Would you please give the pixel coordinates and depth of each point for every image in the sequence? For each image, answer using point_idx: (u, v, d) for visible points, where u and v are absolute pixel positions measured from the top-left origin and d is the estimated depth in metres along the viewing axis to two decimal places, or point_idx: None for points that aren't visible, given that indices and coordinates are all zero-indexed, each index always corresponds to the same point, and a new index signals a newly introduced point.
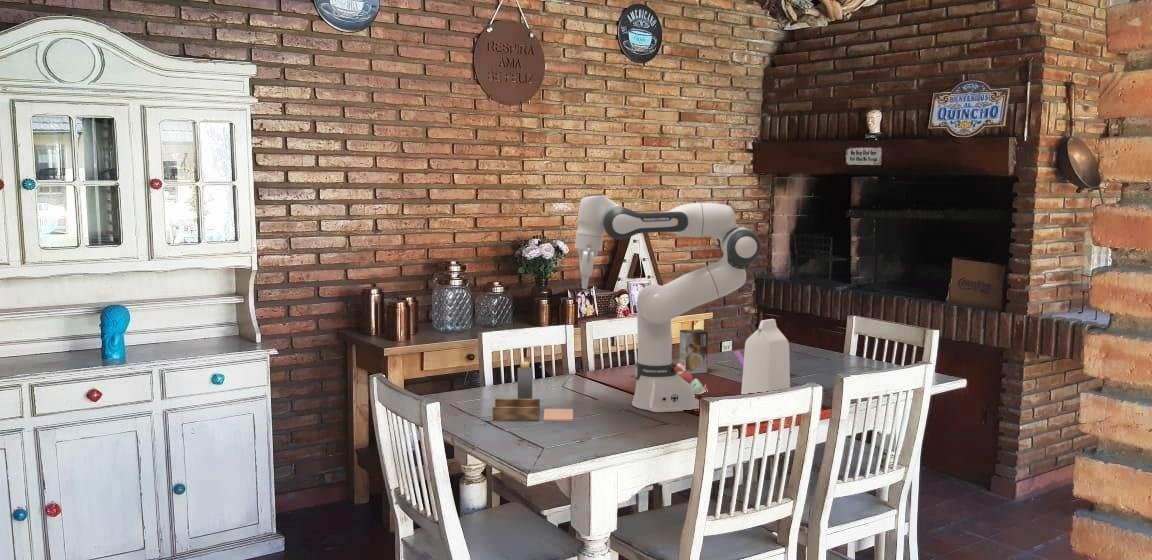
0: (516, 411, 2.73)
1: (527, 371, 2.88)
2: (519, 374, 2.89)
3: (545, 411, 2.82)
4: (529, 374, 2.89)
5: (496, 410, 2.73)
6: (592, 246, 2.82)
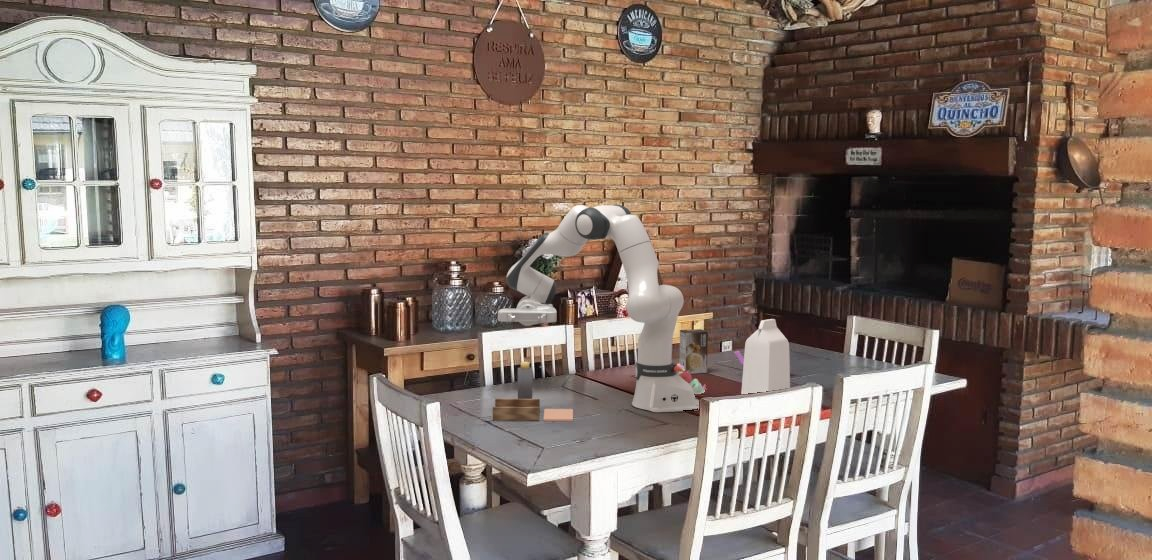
0: (516, 411, 2.73)
1: (527, 371, 2.88)
2: (519, 374, 2.89)
3: (545, 411, 2.82)
4: (529, 374, 2.89)
5: (496, 410, 2.73)
6: (516, 309, 3.14)
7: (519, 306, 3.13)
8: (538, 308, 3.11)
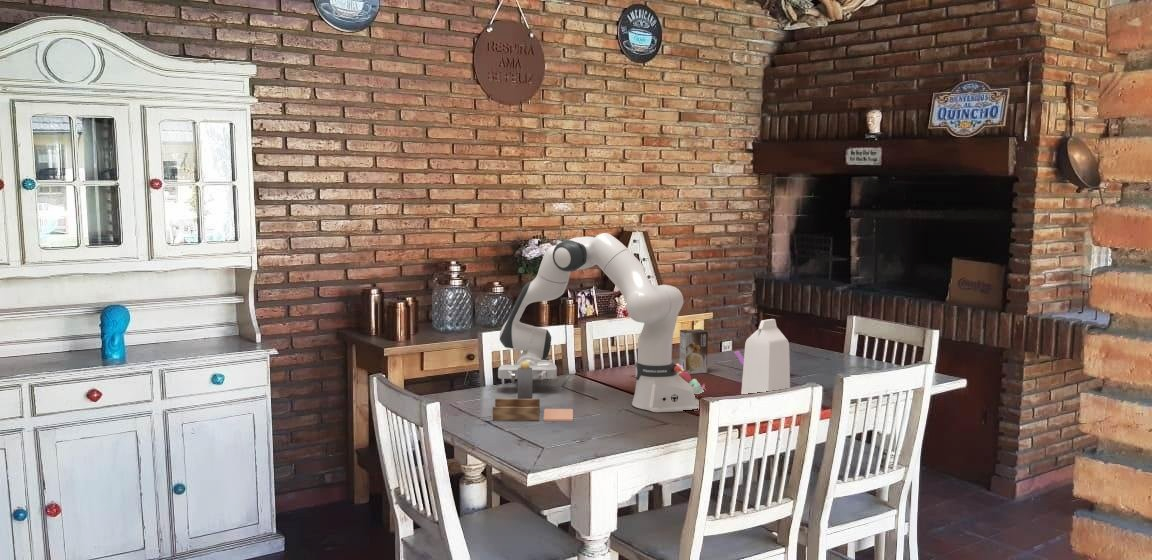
0: (516, 411, 2.73)
1: (527, 371, 2.88)
2: (519, 374, 2.89)
3: (545, 411, 2.82)
4: (529, 374, 2.89)
5: (496, 410, 2.73)
6: (516, 365, 3.14)
7: (519, 362, 3.13)
8: (538, 364, 3.11)
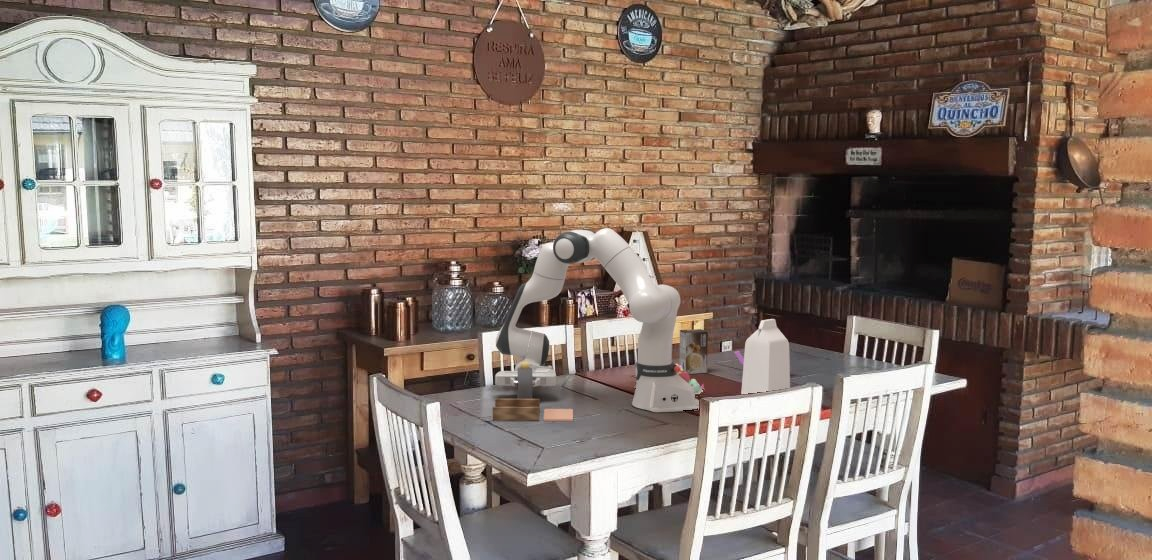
0: (516, 411, 2.73)
1: (527, 371, 2.88)
2: (519, 374, 2.89)
3: (545, 411, 2.82)
4: (529, 374, 2.89)
5: (496, 410, 2.73)
6: None
7: (517, 368, 3.02)
8: (537, 370, 3.01)
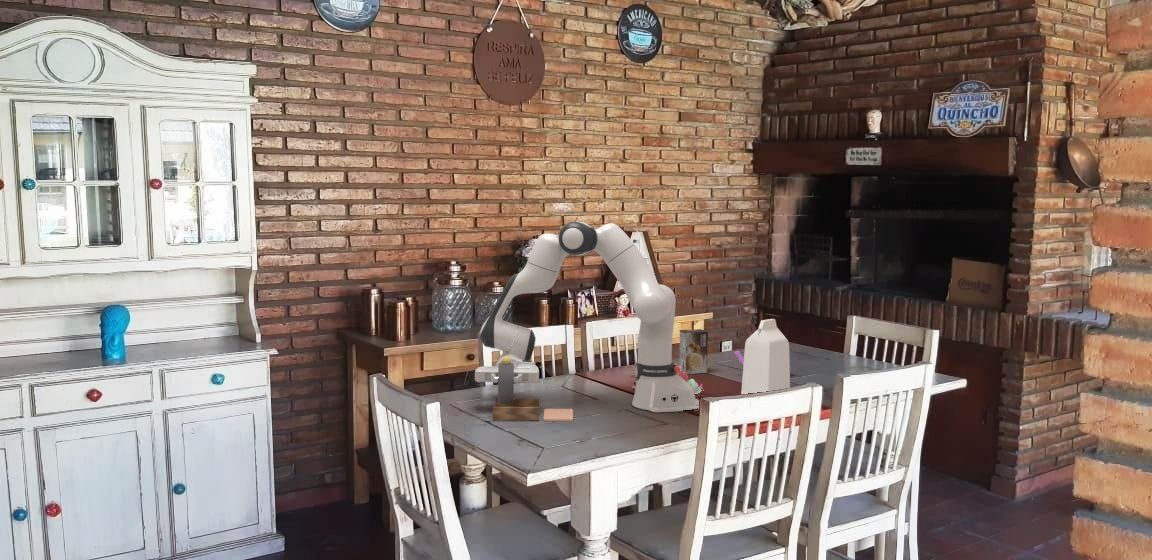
0: (516, 411, 2.73)
1: (508, 367, 2.75)
2: (500, 370, 2.75)
3: (545, 411, 2.82)
4: (510, 370, 2.75)
5: (496, 410, 2.73)
6: None
7: None
8: (519, 366, 2.87)
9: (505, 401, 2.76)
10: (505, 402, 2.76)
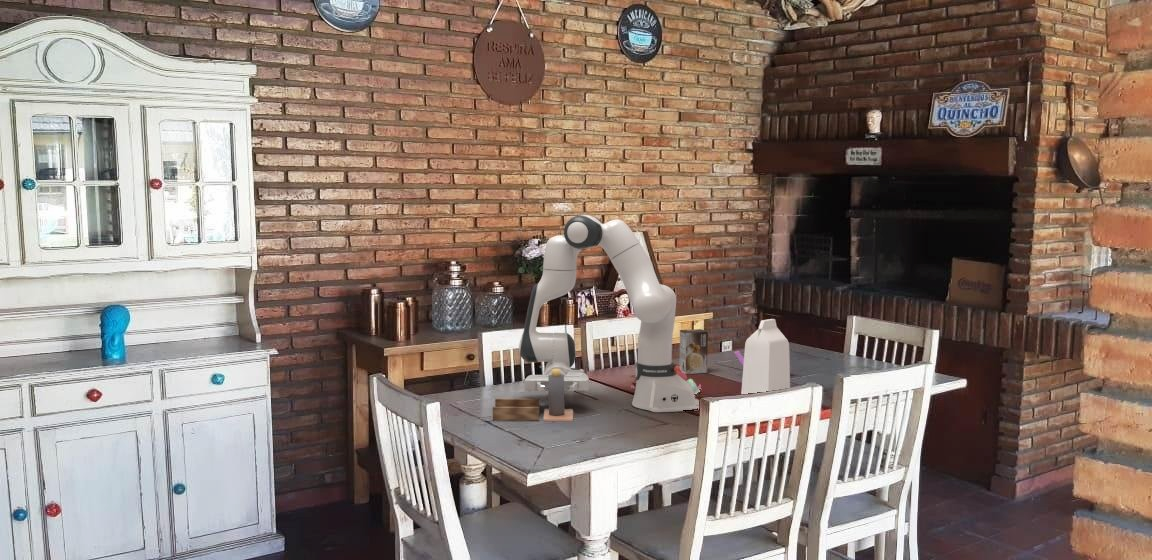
0: (516, 411, 2.73)
1: (558, 379, 2.75)
2: (550, 382, 2.76)
3: (545, 411, 2.82)
4: (560, 382, 2.76)
5: (496, 410, 2.73)
6: None
7: (548, 372, 2.89)
8: (568, 374, 2.87)
9: (556, 413, 2.76)
10: (556, 414, 2.76)
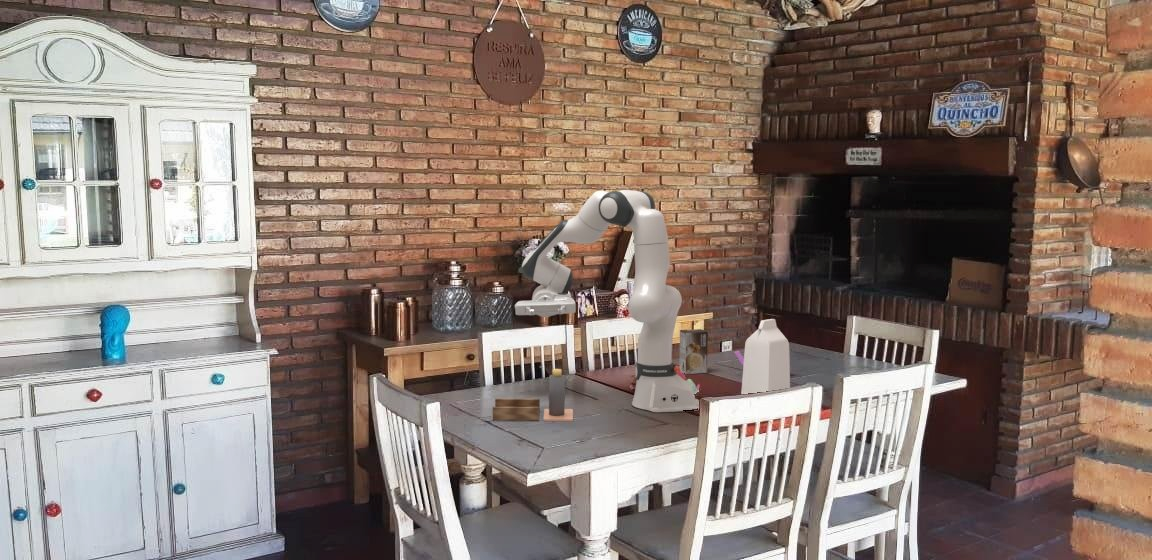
0: (516, 411, 2.73)
1: (559, 379, 2.75)
2: (551, 382, 2.76)
3: (545, 411, 2.82)
4: (561, 382, 2.76)
5: (496, 410, 2.73)
6: None
7: (536, 298, 3.05)
8: (556, 299, 3.03)
9: (556, 413, 2.76)
10: (556, 414, 2.76)
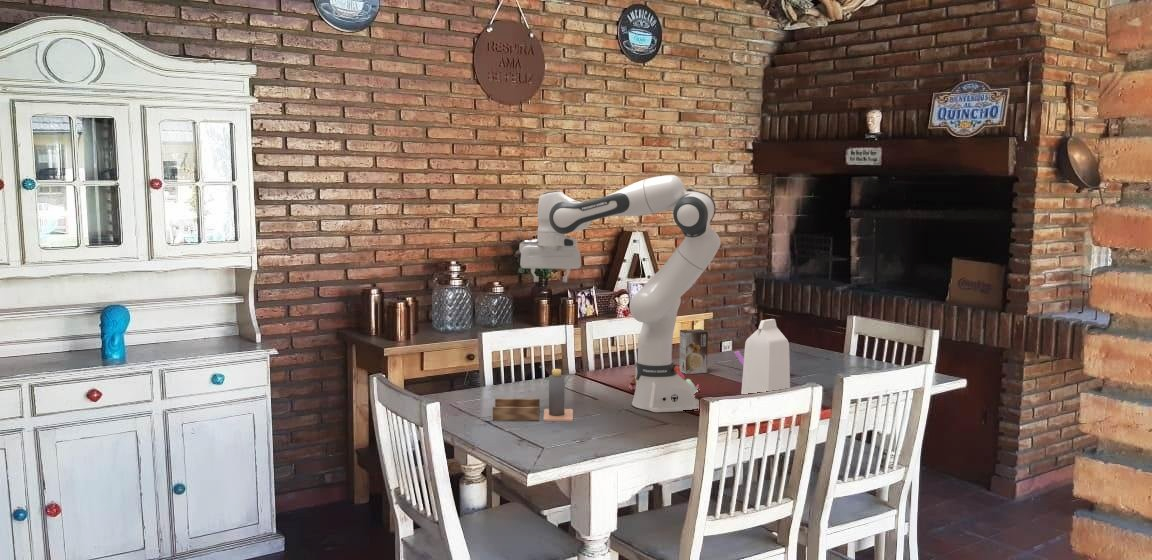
0: (516, 411, 2.73)
1: (559, 379, 2.75)
2: (551, 382, 2.76)
3: (545, 411, 2.82)
4: (561, 382, 2.76)
5: (496, 410, 2.73)
6: (537, 241, 2.95)
7: (541, 245, 2.94)
8: (562, 251, 2.94)
9: (556, 413, 2.76)
10: (556, 414, 2.76)
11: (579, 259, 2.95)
